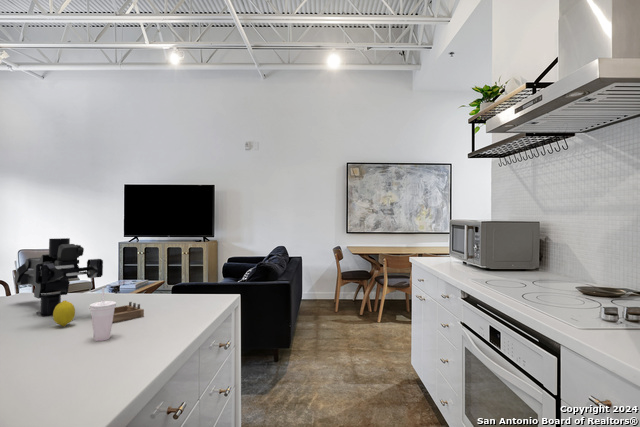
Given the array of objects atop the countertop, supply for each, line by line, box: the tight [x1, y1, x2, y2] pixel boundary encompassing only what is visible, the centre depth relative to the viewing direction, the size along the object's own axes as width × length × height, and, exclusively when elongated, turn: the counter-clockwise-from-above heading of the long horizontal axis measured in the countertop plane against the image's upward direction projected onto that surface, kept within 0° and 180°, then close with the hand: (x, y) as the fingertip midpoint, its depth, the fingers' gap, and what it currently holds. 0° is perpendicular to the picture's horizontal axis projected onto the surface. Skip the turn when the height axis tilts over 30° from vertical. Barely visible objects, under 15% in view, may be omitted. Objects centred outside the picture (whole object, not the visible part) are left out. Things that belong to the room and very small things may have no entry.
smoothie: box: [88, 287, 117, 342], centre depth 98 cm, size 6×6×14 cm
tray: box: [112, 301, 145, 324], centre depth 119 cm, size 11×11×4 cm
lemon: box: [52, 300, 76, 327], centre depth 109 cm, size 6×6×8 cm
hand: (80, 272), depth 110 cm, fingers open, 9 cm apart
